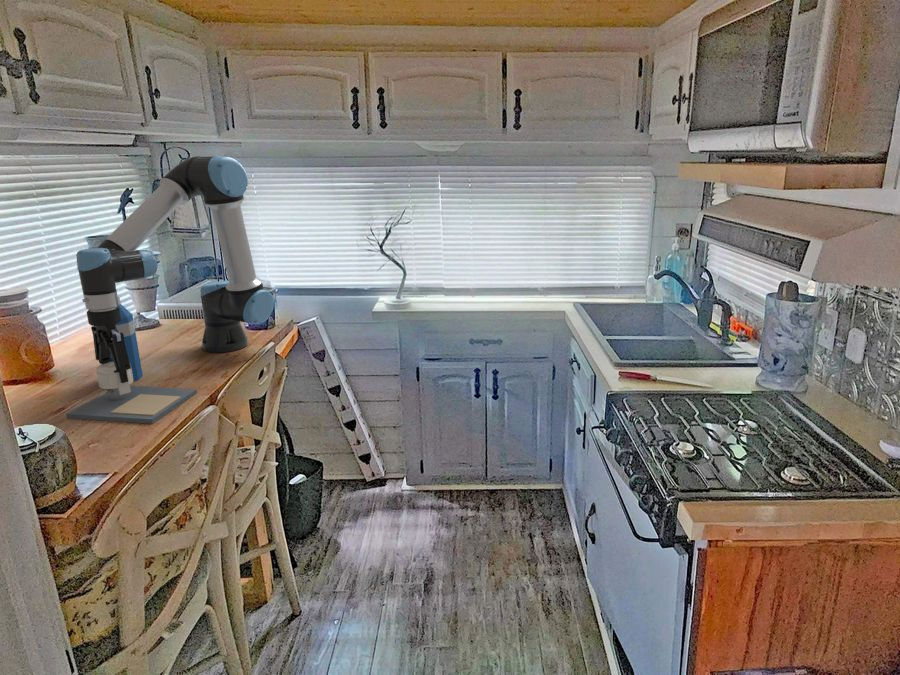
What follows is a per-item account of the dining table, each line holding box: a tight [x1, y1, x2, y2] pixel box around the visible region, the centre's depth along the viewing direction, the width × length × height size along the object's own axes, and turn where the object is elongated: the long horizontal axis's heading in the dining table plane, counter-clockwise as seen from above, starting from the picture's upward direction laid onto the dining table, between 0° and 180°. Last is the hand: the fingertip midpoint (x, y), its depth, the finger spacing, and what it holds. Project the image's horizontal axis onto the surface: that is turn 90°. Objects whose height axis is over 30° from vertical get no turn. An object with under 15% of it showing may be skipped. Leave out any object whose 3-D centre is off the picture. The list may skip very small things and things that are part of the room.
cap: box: [95, 362, 134, 390], centre depth 157 cm, size 8×8×6 cm
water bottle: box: [110, 296, 144, 382], centre depth 172 cm, size 9×9×25 cm
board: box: [65, 385, 198, 425], centre depth 155 cm, size 20×24×9 cm
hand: (117, 389), depth 158 cm, fingers closed on cap, 8 cm apart
